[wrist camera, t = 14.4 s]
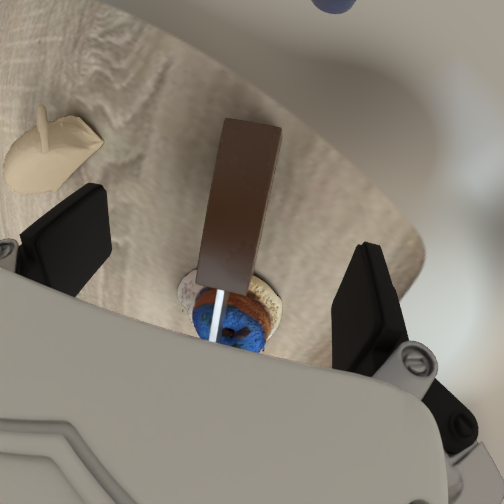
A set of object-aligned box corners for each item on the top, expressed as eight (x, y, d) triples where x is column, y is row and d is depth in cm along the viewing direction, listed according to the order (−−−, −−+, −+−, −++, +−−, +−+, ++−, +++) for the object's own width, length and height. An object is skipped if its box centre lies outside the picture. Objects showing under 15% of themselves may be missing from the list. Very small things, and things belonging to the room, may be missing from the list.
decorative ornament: (30, 152, 18) (-19, 178, 14) (91, 83, 15) (31, 96, 10) (54, 192, 20) (8, 225, 15) (120, 132, 16) (65, 157, 12)
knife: (234, 127, 16) (224, 117, 13) (282, 136, 15) (282, 127, 13) (189, 402, 20) (177, 429, 18) (222, 411, 20) (215, 439, 17)
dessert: (309, 320, 21) (260, 389, 18) (264, 317, 27) (223, 369, 24) (230, 239, 19) (166, 310, 17) (199, 254, 25) (151, 307, 22)
